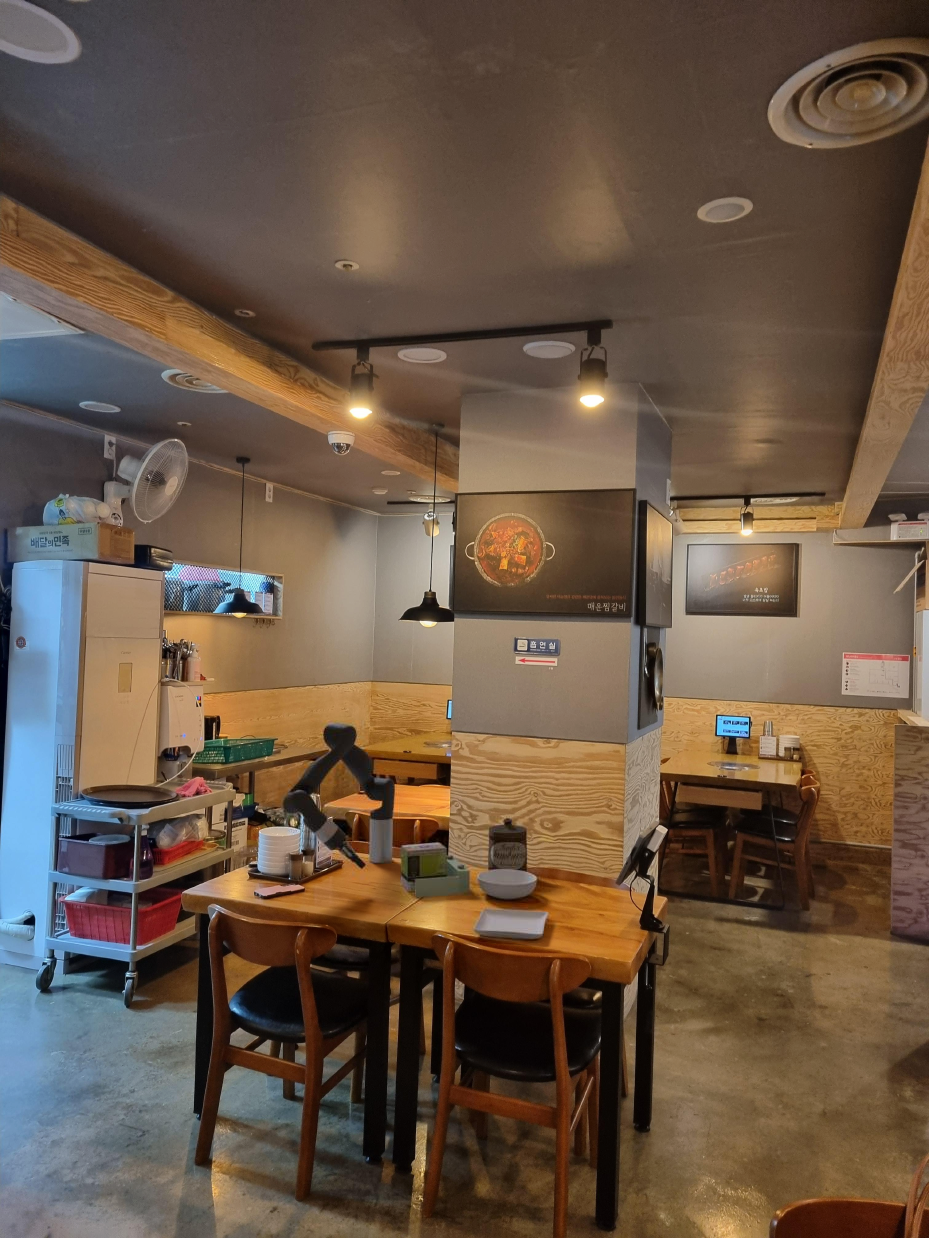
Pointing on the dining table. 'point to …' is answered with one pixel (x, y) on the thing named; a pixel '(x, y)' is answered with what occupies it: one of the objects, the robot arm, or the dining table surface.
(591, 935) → the dining table surface
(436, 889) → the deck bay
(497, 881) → the serving bowl
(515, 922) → the salad plate
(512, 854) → the wooden container
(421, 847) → the tea box
